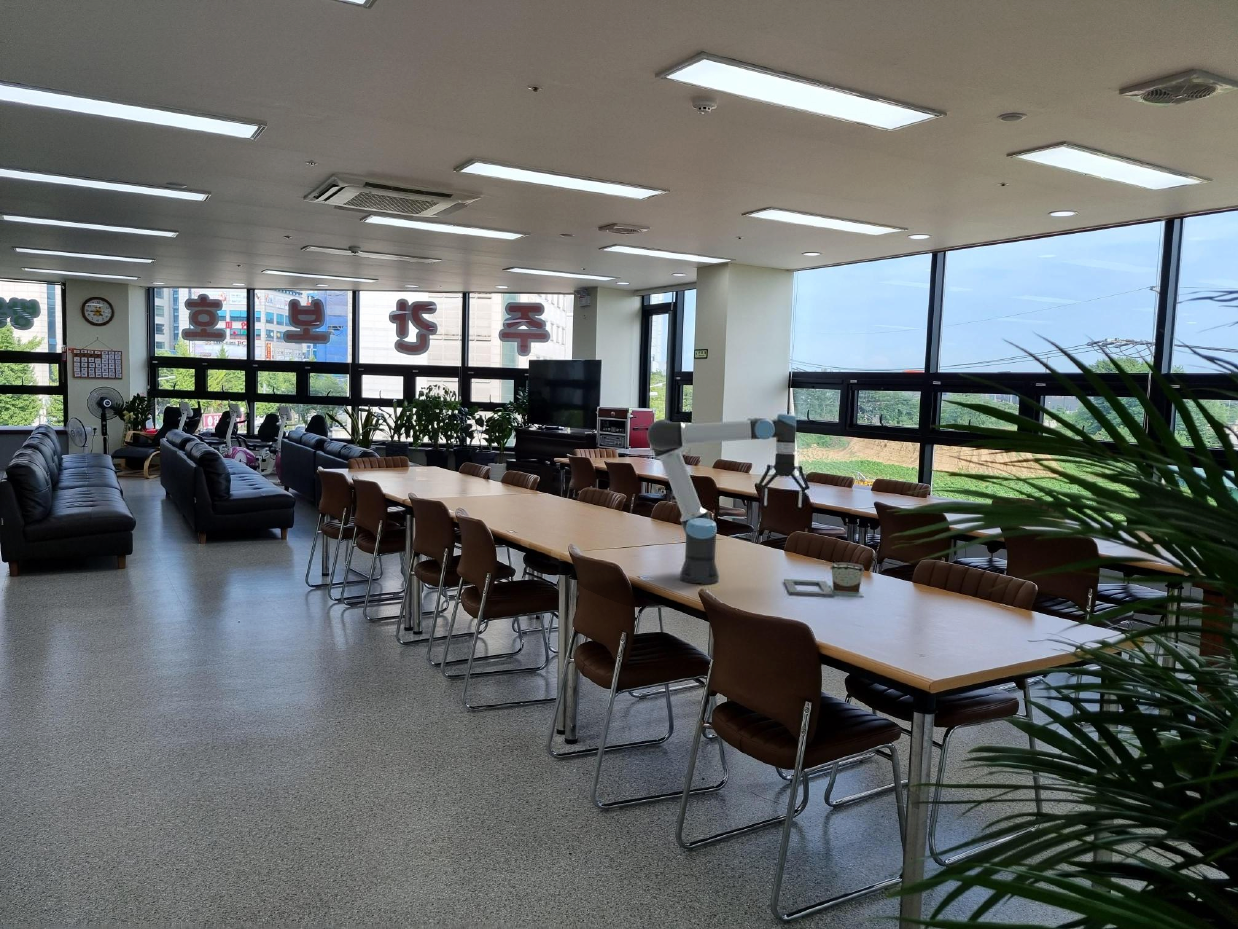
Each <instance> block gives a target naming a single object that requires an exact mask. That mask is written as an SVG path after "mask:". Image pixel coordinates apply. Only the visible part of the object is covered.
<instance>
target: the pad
mask: <svg viewBox="0 0 1238 929" xmlns="http://www.w3.org/2000/svg"><path fill="white" fill-rule="evenodd" d="M828 586H830V588H831V590H832V591H833V584H828ZM833 593H834V596H836V595H838V596H839V597H852V596H864V595H863V593H862V592H861V590H859V593H851V592H838V591H833Z"/></svg>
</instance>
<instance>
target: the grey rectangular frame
mask: <svg viewBox="0 0 1238 929" xmlns="http://www.w3.org/2000/svg"><path fill="white" fill-rule="evenodd" d="M783 584H784V586H785V588H786V590H787V592H788V594H789V596H803V597H819V596H824V597H825V598H835V594H834V592H833V591H832V589H831V588H830V587H829V584H828V583H827V581H826V580H810V579H809V580H808V579H796V578H795V579H793V578H792V579H791V578H783ZM797 584H799V585H800V584H801V585H800V586H815V585H816V586H819V588H820V590H804V589H803V590H802V589H797V587H796V585H797ZM799 585H798V586H799Z"/></svg>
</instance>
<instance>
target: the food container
mask: <svg viewBox="0 0 1238 929" xmlns="http://www.w3.org/2000/svg"><path fill="white" fill-rule="evenodd" d="M829 570H831V575H832V585H833V591H838V592H851V593H859V591H861V590H860V589H861V584H862V579H863V573H865V568H864V566H863V565H861V564H857V563H853V562H834V563H832V564H831V566H830V569H829Z"/></svg>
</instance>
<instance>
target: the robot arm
mask: <svg viewBox="0 0 1238 929" xmlns="http://www.w3.org/2000/svg"><path fill="white" fill-rule="evenodd" d="M796 435H797V416H796V415H795V414H791V413H790V414H789V413H787V414H786V413H784V414H783V413H778V414H777V417H776V418H761V417H750V418H747V420H746V419H745V420H733V421H718V422H717V421H716V422H705V423H704V422H702V423H691V424H690V423H689V424H688V423H685V424H684V423H683V422H682V421H681V422H680V421H679V422H672V421H670V420H668V419H658V420H655V421H654V422H652V423H651V424H650V426H649V428H648V430H647V433H646V437H647V442H648V444H649V445H650V446H651V449H652V451H653V453H654V456H655V458H656V459H658V460H660V461H661V462H660V463H661V464H662V466H663V470H664V471H665V473H666V477H667V479H668V483H669V484H670V487H671V490H672V493H673V495H674V497H675V500H676V503H677V506H678V508H679V511H680V514H681V517H680V518H679V521H680V523H681V524H680V525H681V526H682V530H683V532H684V534H685V550H684V554H685V556H684V562H683V564H682V567H681V570H680V572H679V580H680V581H682V580H683V581H682V582H684V581H687V582H686V583H688V582H691V583H690V584H695V583H701V584H700V585H711V584H712V585H713V584H717V583H719V582H720V581H719V579H720V574H719V571H718V568H717V564H716V550H717V549H716V548H717V547H716V546H717V545H716V544H717V532H718V531H717V530H718V527H717V523H716V522H715V521H714V520H712V519H711V517H710V514H709V512H708V510H707V509H706V508H703V507H702V504H701V502H700V499H699V497H698V493H697V491H696V488H695V487H694V484H693V480H692V478H691V476H690V473H689V469H688V468H687V465H686V463H685V462H686V461H685V459H684V457H683V454H682V450H683V448H684V447H685V445H691V444H693V445H694V444H705V443H709V444H710V443H718V442H719V443H721V442H723V443H724V442H732V441H733V442H735V441H737V442H739V441H749V440H752V441H753V440H763V441H764V440H768V439H769V440H770V439H771V438H772V439H773V438H774V439H775V438H776V440H775V458H774V459H775V461H774V465H773V464H769V463H768V464H767V465H766V469H765V471H764V474H763V475H762V477H761V478H760V480H759V482H758V483H757V487H758V488H761V497H762V498H764V501H763V503H764V504H763V505H764V506H766V507H767V505H768V488H767V487H768V486H770V484H771V483H772V482H773V481H774V480H775V479H776V478H777V477H778V476H779V477H785V478H786V477H791V478H792V480H793V481H794V482H795V484H797V486H798V488H799V489H800V490H798V491H799V492H798V508H802V500H803V499H805V496H806V494H805V493H806V490H810V488H811V487H810V484H809V483H808V481H807V478H806V476H805V474H804V472H803V466H802V465H795V456H796V455H795V453H796ZM773 469H774V471H775V472H774V473H773V474H772V475H771V477H770V478H768V480H766V479H767V476H768V474H770V471H772V470H773ZM795 470H796V471H797V472H798V474H799V475H800V478H801V479H802V482H803V485H804V486H803V485H802V483H801V481H800V480H799V479H798V478H797V477H796V475H795V474H794V472H795ZM765 480H766V482H765ZM764 482H765V483H764Z"/></svg>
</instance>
